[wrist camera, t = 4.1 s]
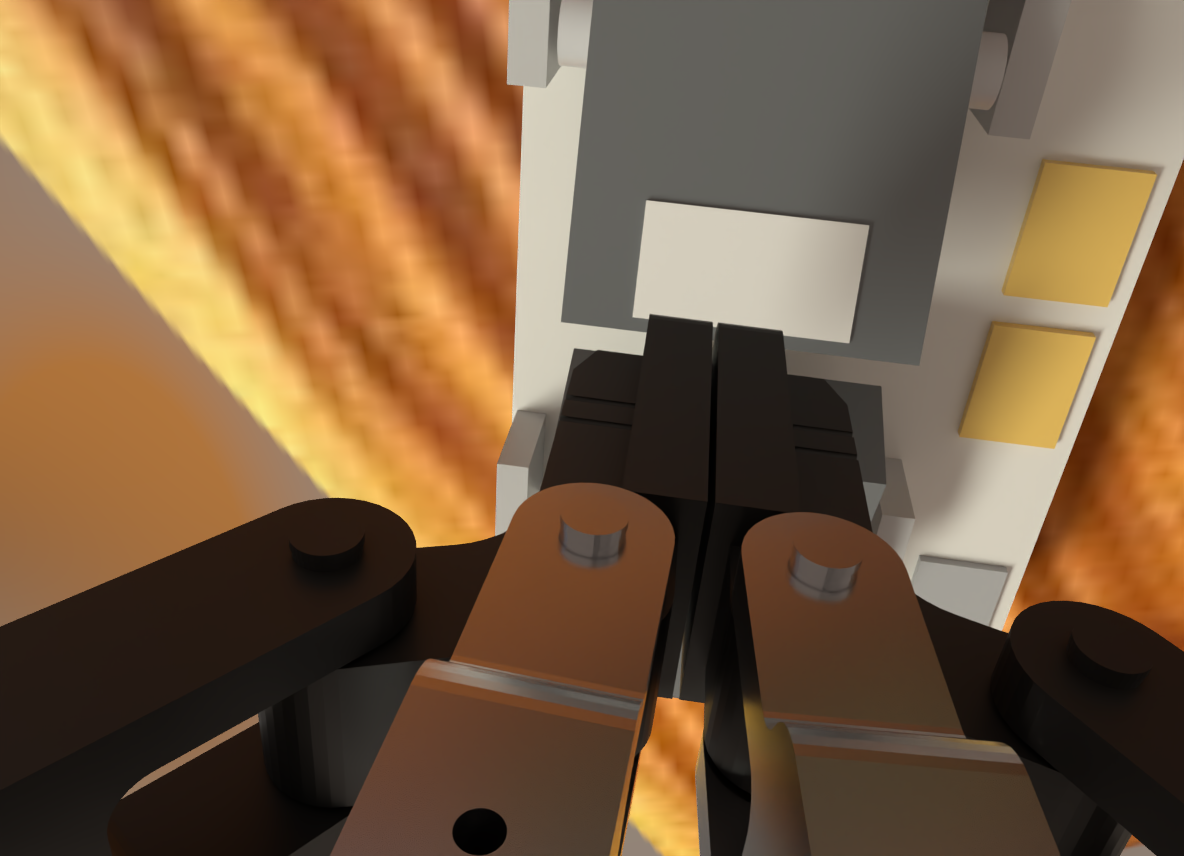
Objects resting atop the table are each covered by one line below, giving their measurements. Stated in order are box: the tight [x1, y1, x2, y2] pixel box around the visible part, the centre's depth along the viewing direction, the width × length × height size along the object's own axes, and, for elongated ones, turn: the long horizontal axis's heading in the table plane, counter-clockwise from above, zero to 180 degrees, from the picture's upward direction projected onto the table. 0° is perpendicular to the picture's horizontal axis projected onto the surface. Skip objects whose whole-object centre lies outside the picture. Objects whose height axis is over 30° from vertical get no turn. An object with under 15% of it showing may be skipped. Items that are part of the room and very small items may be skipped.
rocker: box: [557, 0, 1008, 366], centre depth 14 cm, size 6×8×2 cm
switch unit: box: [495, 0, 1184, 631], centre depth 19 cm, size 11×17×5 cm, turn 176°
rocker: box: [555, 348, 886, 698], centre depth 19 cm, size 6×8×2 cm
